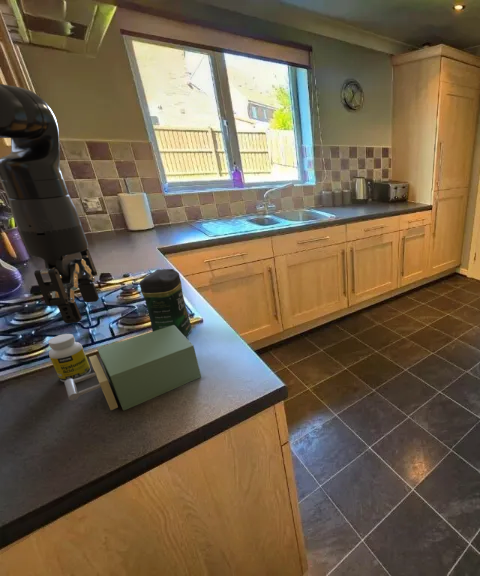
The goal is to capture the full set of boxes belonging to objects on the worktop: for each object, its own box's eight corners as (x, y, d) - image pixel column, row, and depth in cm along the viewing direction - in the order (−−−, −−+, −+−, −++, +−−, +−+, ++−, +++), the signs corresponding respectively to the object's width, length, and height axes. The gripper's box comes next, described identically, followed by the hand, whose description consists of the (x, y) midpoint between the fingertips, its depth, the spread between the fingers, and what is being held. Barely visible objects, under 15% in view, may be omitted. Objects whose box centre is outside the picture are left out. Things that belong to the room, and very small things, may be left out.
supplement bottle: (65, 386, 71) (47, 348, 67) (56, 377, 73) (39, 340, 69) (95, 373, 75) (81, 336, 71) (86, 364, 78) (72, 329, 74)
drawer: (79, 424, 61) (66, 395, 58) (70, 393, 68) (58, 366, 65) (186, 378, 73) (179, 353, 70) (169, 356, 80) (162, 333, 77)
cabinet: (123, 411, 65) (110, 376, 61) (109, 381, 73) (97, 348, 69) (201, 377, 75) (193, 345, 71) (181, 354, 83) (174, 324, 79)
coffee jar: (184, 343, 87) (168, 279, 79) (151, 346, 85) (131, 280, 78) (196, 325, 95) (182, 265, 88) (166, 327, 94) (149, 266, 86)
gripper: (42, 216, 59) (74, 298, 65) (-8, 236, 47) (37, 334, 53) (94, 214, 61) (119, 293, 68) (59, 233, 49) (94, 326, 56)
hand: (83, 311), depth 60 cm, fingers open, 8 cm apart
